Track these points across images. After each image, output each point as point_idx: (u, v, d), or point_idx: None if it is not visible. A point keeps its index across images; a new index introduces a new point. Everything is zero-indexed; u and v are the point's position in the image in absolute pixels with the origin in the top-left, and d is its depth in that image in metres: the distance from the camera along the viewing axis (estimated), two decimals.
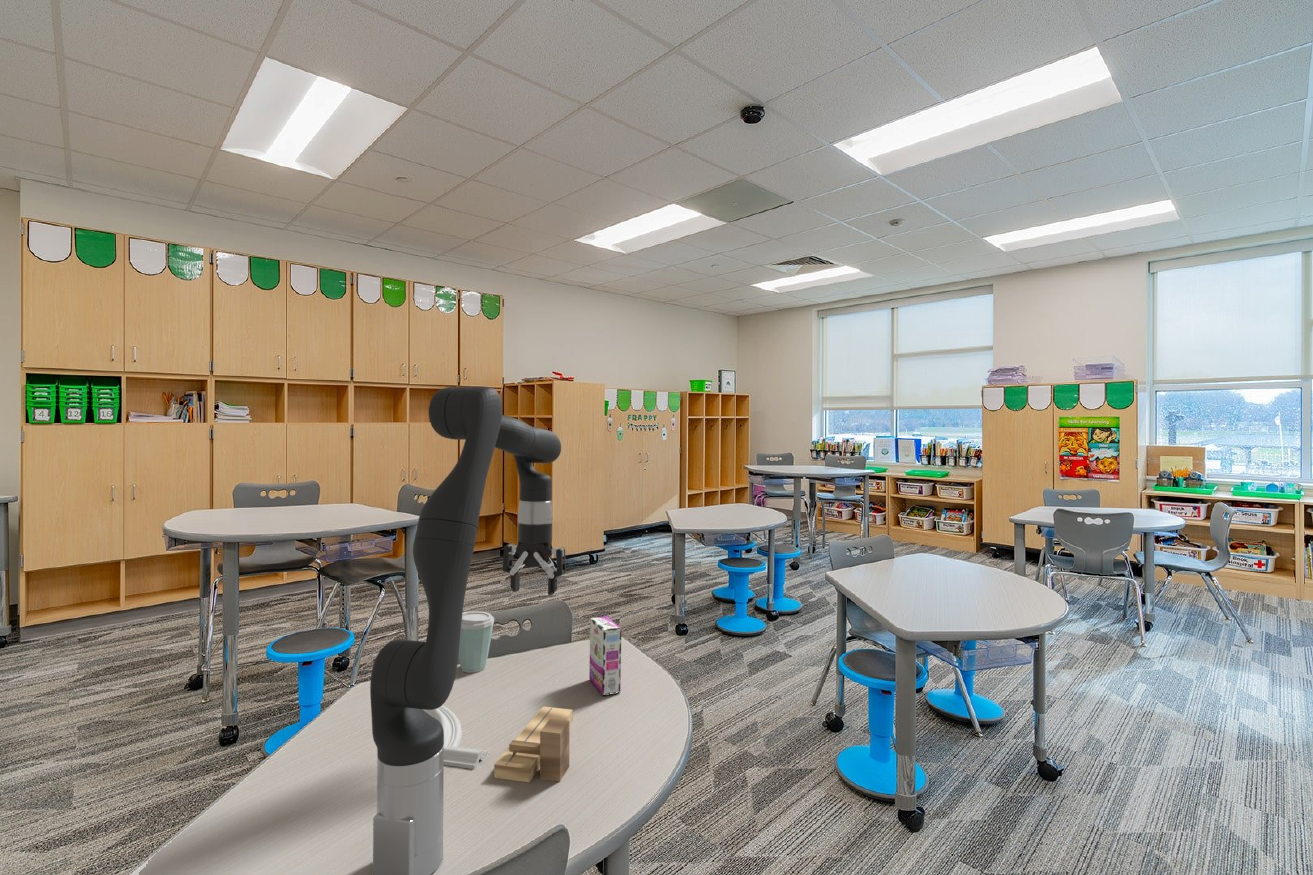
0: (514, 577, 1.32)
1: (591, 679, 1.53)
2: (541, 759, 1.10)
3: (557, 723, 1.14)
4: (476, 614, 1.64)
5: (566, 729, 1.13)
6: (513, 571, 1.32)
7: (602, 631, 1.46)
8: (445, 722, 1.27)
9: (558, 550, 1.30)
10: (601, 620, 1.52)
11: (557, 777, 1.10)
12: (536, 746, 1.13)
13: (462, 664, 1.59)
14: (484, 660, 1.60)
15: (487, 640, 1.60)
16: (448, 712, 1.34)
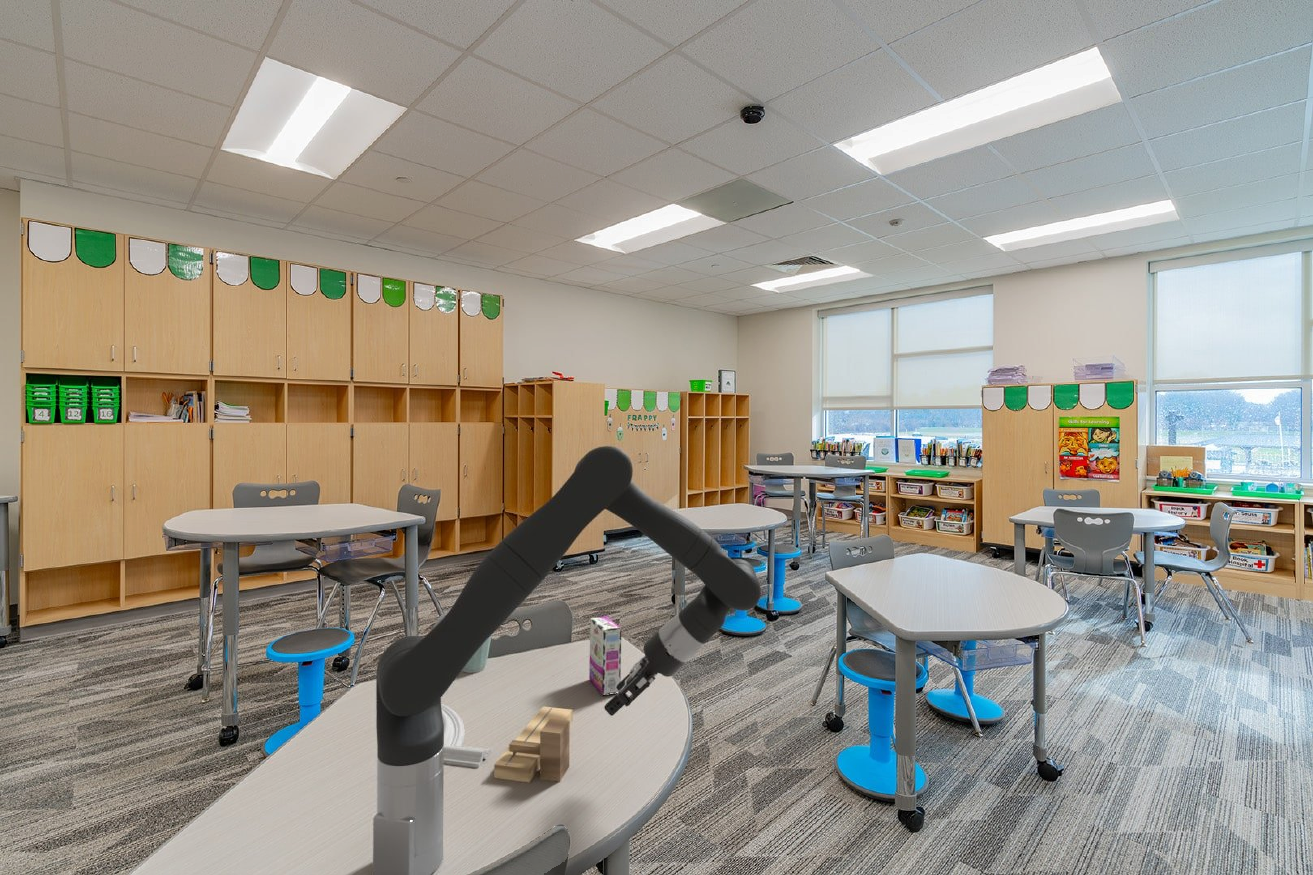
0: (627, 675, 1.14)
1: (591, 679, 1.53)
2: (541, 759, 1.10)
3: (557, 723, 1.13)
4: None
5: (566, 729, 1.13)
6: (632, 669, 1.14)
7: (602, 631, 1.46)
8: (448, 721, 1.28)
9: (639, 674, 1.03)
10: (601, 620, 1.52)
11: (557, 777, 1.10)
12: (536, 746, 1.13)
13: None
14: (484, 660, 1.60)
15: (487, 640, 1.60)
16: (450, 711, 1.35)
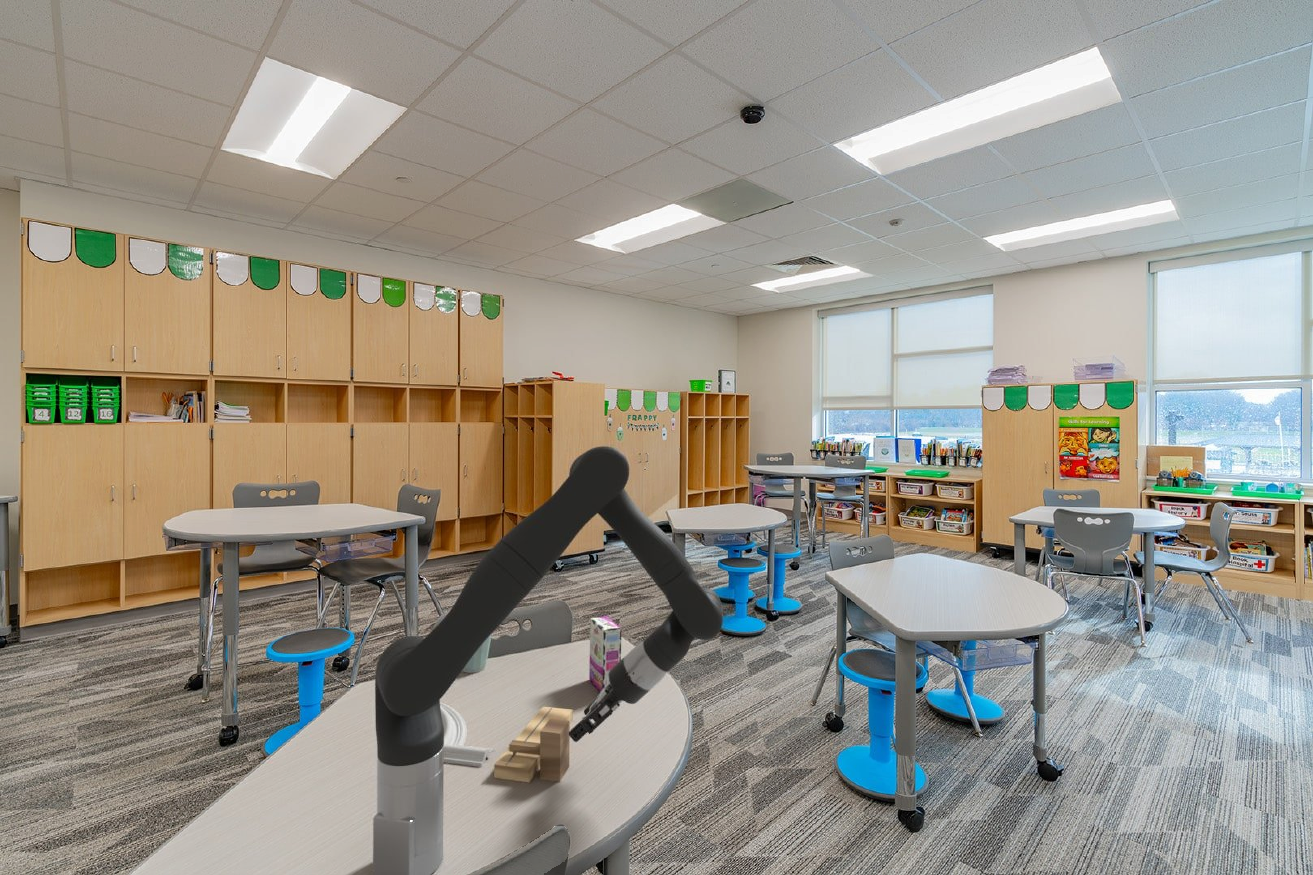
0: (594, 700, 1.15)
1: (591, 679, 1.53)
2: (541, 759, 1.10)
3: (557, 723, 1.13)
4: None
5: (566, 729, 1.13)
6: (599, 695, 1.15)
7: (602, 631, 1.46)
8: (450, 721, 1.28)
9: (602, 701, 1.04)
10: (601, 620, 1.52)
11: (557, 777, 1.10)
12: (536, 746, 1.13)
13: None
14: (484, 660, 1.60)
15: (487, 640, 1.60)
16: (452, 711, 1.35)
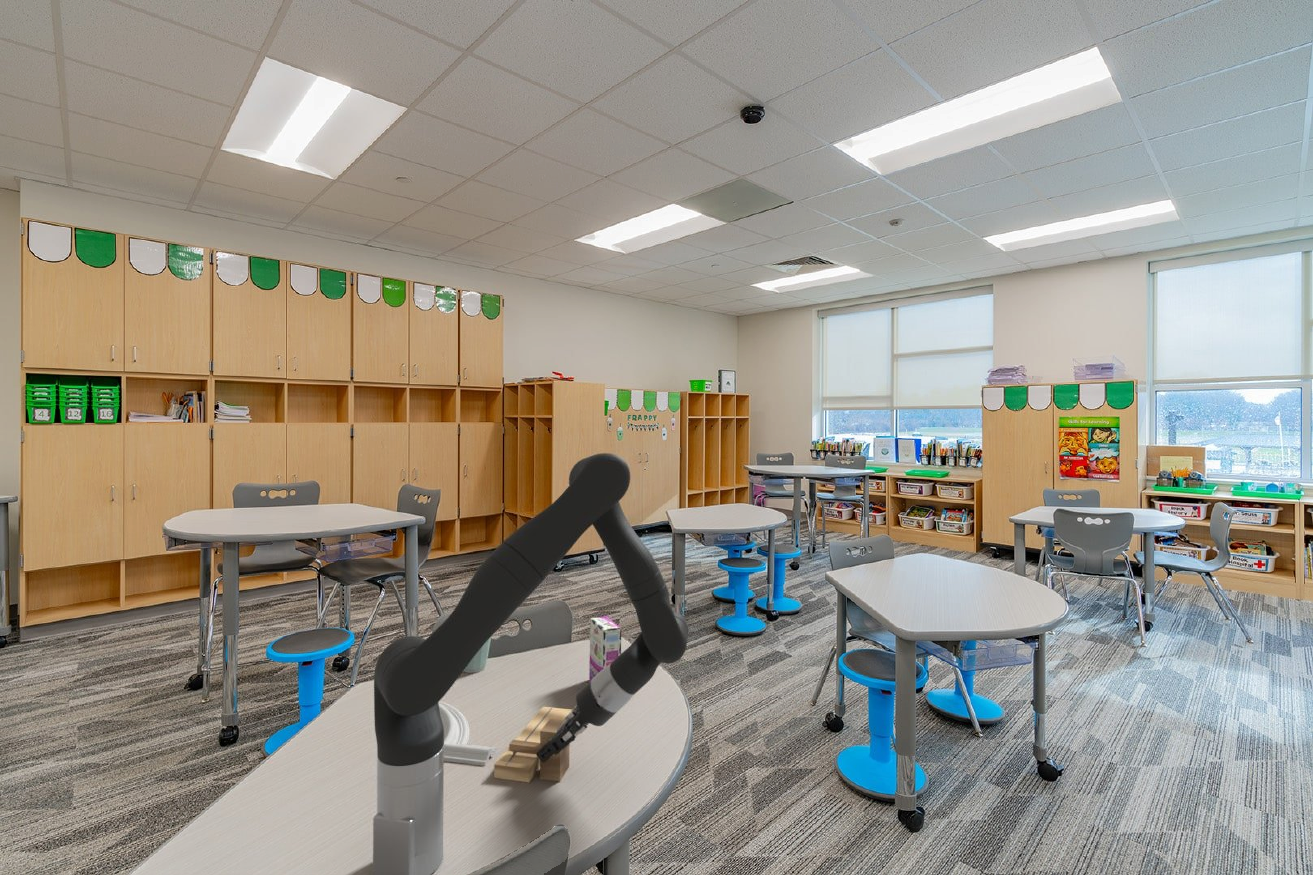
0: None
1: (591, 679, 1.53)
2: None
3: (557, 723, 1.14)
4: None
5: None
6: None
7: (602, 631, 1.46)
8: (453, 720, 1.28)
9: (565, 728, 1.06)
10: (601, 620, 1.52)
11: (557, 776, 1.10)
12: (536, 746, 1.13)
13: None
14: (484, 660, 1.60)
15: (487, 640, 1.60)
16: (454, 710, 1.35)
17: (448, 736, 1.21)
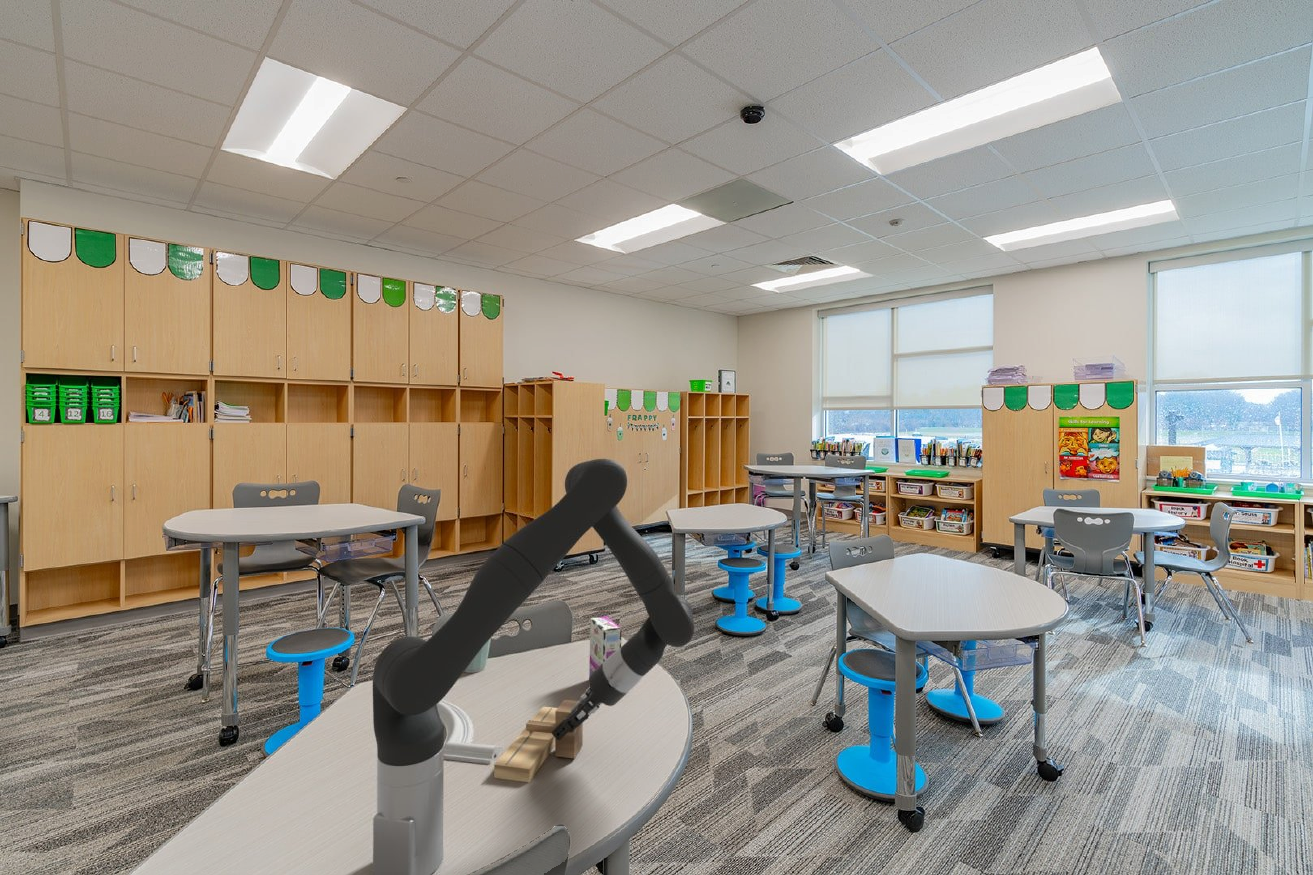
0: None
1: None
2: None
3: (571, 704, 1.20)
4: None
5: None
6: None
7: (602, 631, 1.46)
8: (457, 719, 1.29)
9: (579, 707, 1.12)
10: (601, 620, 1.52)
11: (571, 754, 1.17)
12: (551, 725, 1.20)
13: None
14: (484, 660, 1.60)
15: None
16: (458, 709, 1.36)
17: (453, 735, 1.22)
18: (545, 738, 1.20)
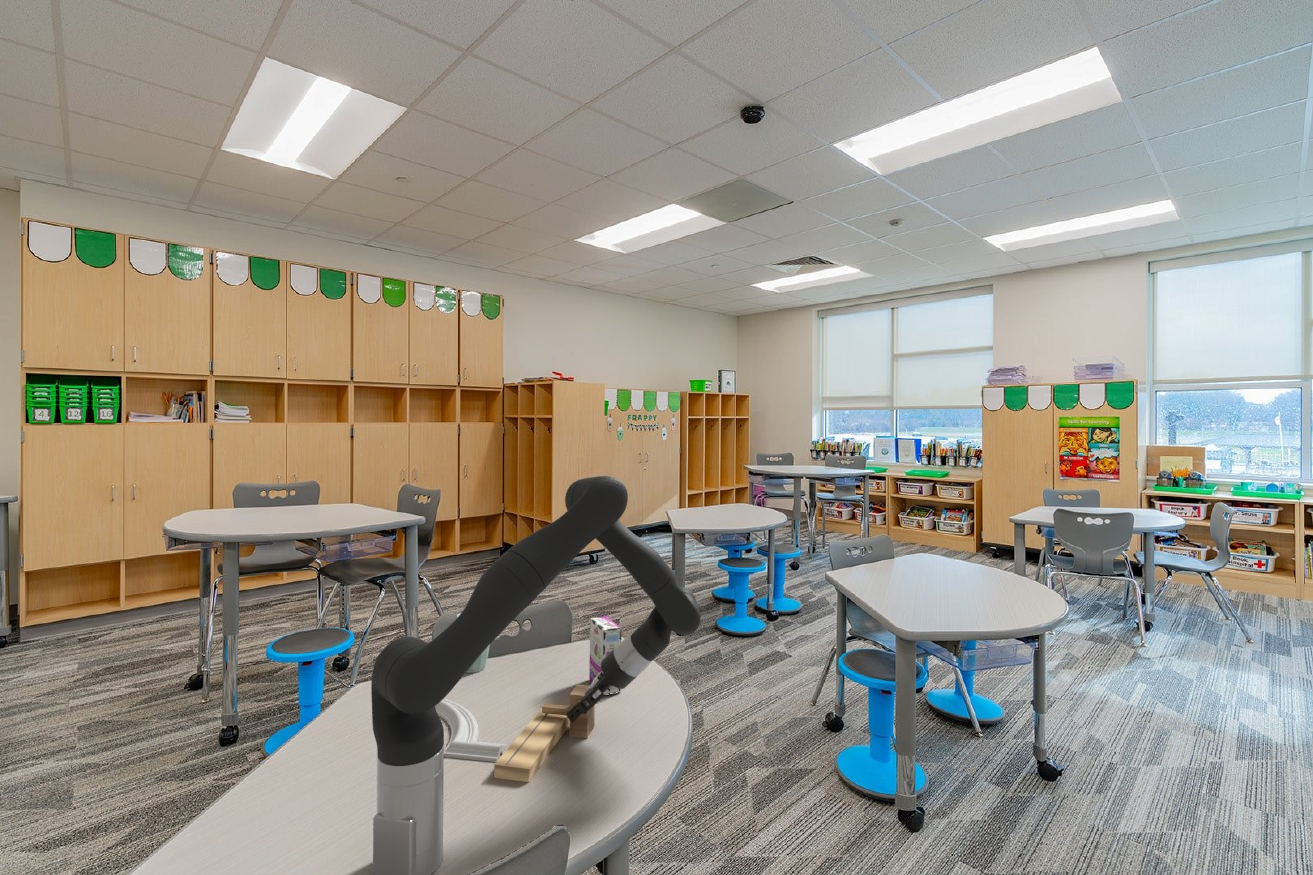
0: None
1: (591, 679, 1.53)
2: None
3: (584, 688, 1.29)
4: None
5: None
6: (593, 682, 1.32)
7: (602, 631, 1.46)
8: (461, 718, 1.29)
9: (595, 686, 1.21)
10: (601, 620, 1.52)
11: (585, 734, 1.26)
12: (566, 708, 1.28)
13: None
14: (484, 660, 1.60)
15: None
16: (462, 708, 1.36)
17: (458, 733, 1.23)
18: (545, 738, 1.20)
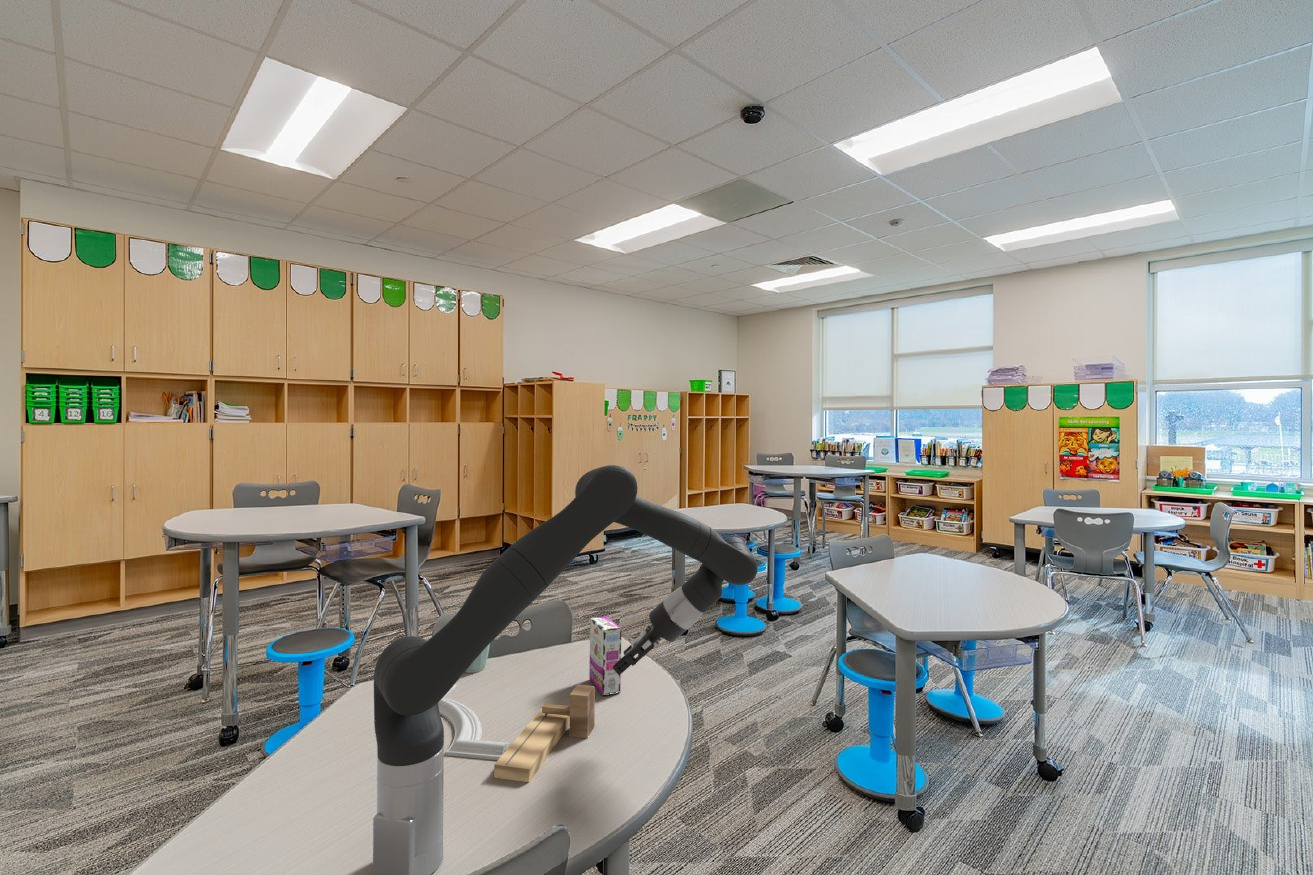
0: None
1: (591, 679, 1.53)
2: (570, 718, 1.26)
3: (584, 688, 1.29)
4: None
5: (592, 693, 1.29)
6: (638, 637, 1.27)
7: (602, 631, 1.46)
8: (464, 717, 1.30)
9: (645, 637, 1.16)
10: (601, 620, 1.52)
11: (585, 734, 1.26)
12: (566, 708, 1.28)
13: None
14: (484, 660, 1.60)
15: None
16: (464, 708, 1.37)
17: (462, 732, 1.23)
18: (545, 738, 1.20)
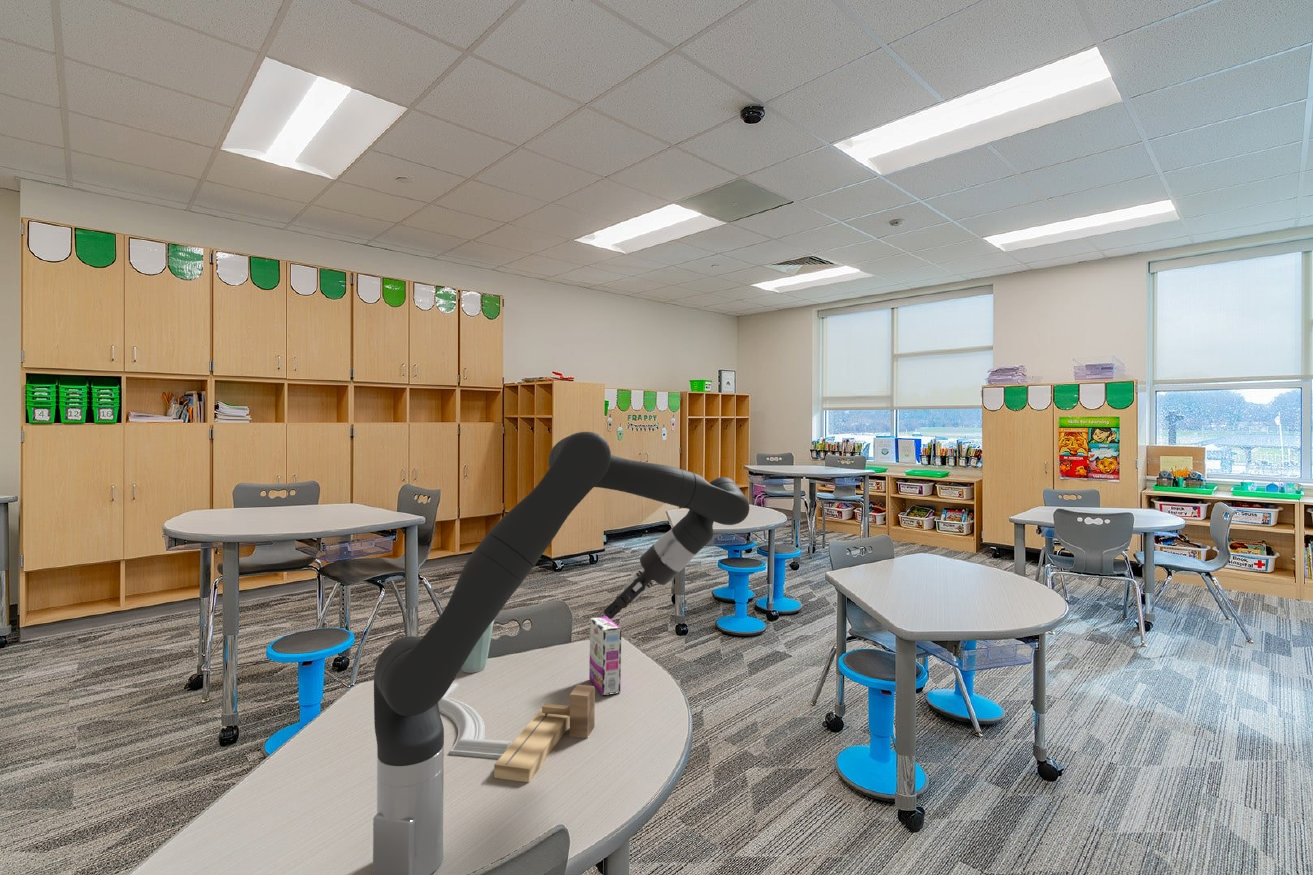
0: None
1: (591, 679, 1.53)
2: (570, 718, 1.26)
3: (584, 688, 1.29)
4: None
5: (592, 693, 1.29)
6: (629, 584, 1.25)
7: (602, 631, 1.46)
8: (467, 716, 1.30)
9: (635, 579, 1.14)
10: (601, 620, 1.52)
11: (585, 734, 1.26)
12: (566, 708, 1.28)
13: None
14: (484, 660, 1.60)
15: (487, 640, 1.60)
16: (467, 707, 1.37)
17: (465, 731, 1.23)
18: (545, 738, 1.20)
